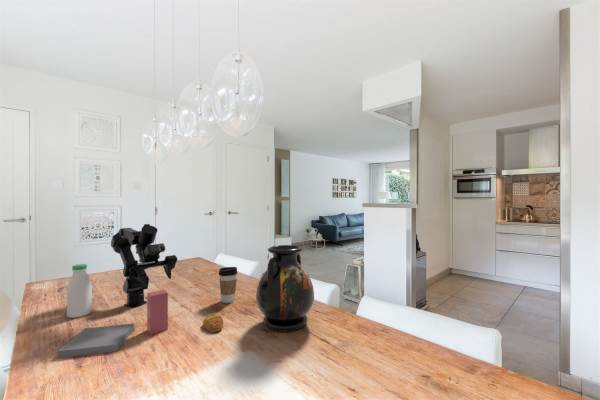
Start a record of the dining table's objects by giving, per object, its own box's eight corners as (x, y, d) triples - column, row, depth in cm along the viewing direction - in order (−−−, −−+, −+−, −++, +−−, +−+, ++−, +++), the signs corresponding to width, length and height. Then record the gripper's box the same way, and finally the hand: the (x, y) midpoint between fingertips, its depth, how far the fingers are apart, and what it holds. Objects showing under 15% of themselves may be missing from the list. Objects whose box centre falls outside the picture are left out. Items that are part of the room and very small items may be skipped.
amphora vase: (293, 343, 87) (292, 254, 88) (243, 326, 99) (243, 248, 99) (324, 319, 105) (324, 245, 106) (279, 307, 117) (279, 241, 117)
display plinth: (84, 334, 94) (84, 328, 94) (134, 329, 98) (134, 323, 98) (58, 358, 79) (58, 351, 79) (117, 350, 83) (117, 344, 83)
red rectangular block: (147, 330, 97) (147, 293, 97) (163, 325, 101) (163, 289, 101) (150, 334, 94) (150, 296, 94) (167, 329, 97) (167, 292, 97)
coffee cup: (232, 304, 121) (232, 270, 121) (215, 303, 122) (215, 269, 123) (240, 298, 129) (240, 266, 129) (223, 297, 131) (223, 265, 131)
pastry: (227, 330, 97) (227, 319, 97) (207, 335, 93) (207, 324, 93) (219, 321, 105) (219, 311, 105) (201, 325, 101) (201, 315, 101)
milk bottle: (95, 312, 113) (95, 263, 113) (73, 319, 106) (73, 267, 106) (84, 309, 116) (85, 262, 116) (62, 316, 109) (63, 265, 109)
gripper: (123, 240, 104) (134, 270, 95) (174, 235, 117) (187, 261, 109) (118, 262, 108) (128, 292, 99) (167, 255, 122) (180, 281, 113)
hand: (158, 280), depth 105 cm, fingers open, 9 cm apart
